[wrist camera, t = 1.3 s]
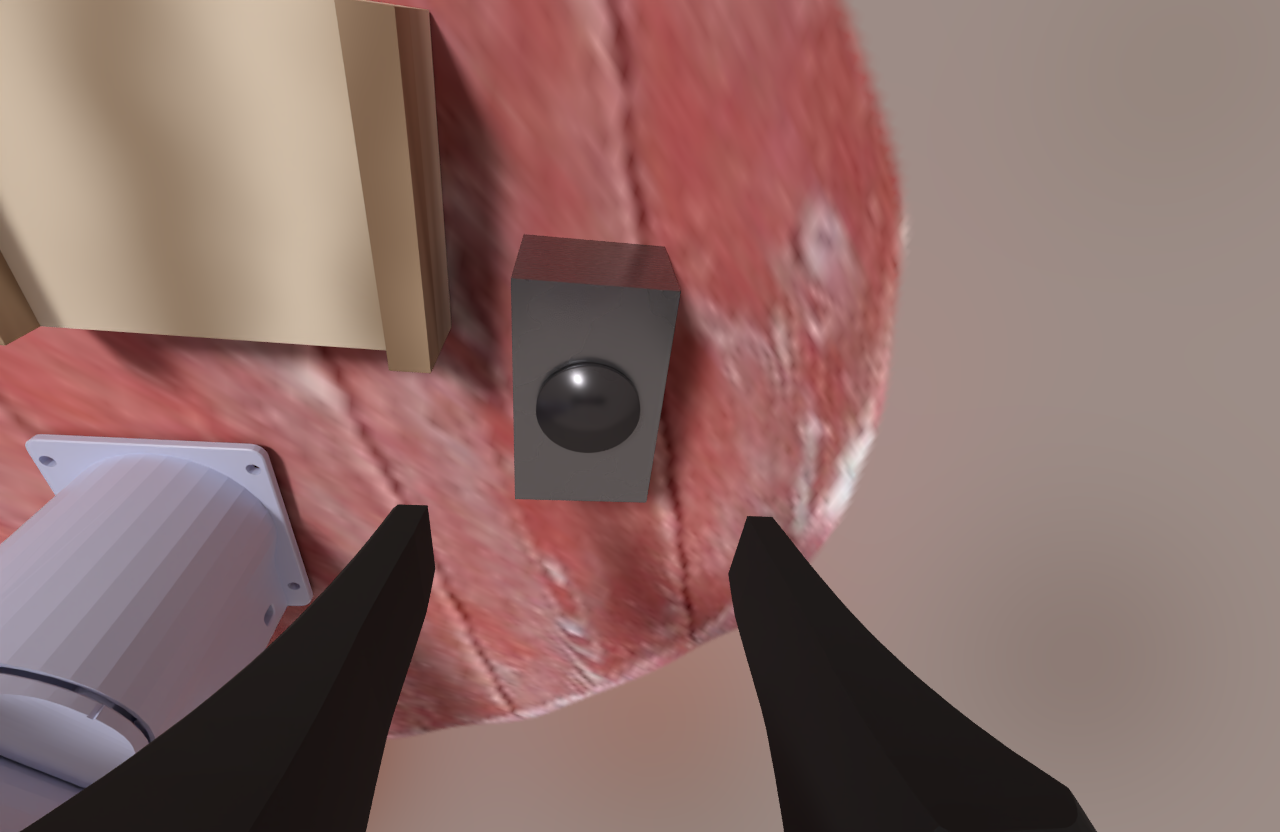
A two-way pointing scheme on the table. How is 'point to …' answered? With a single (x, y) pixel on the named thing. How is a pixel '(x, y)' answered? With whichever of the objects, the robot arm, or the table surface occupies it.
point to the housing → (589, 366)
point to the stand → (223, 173)
